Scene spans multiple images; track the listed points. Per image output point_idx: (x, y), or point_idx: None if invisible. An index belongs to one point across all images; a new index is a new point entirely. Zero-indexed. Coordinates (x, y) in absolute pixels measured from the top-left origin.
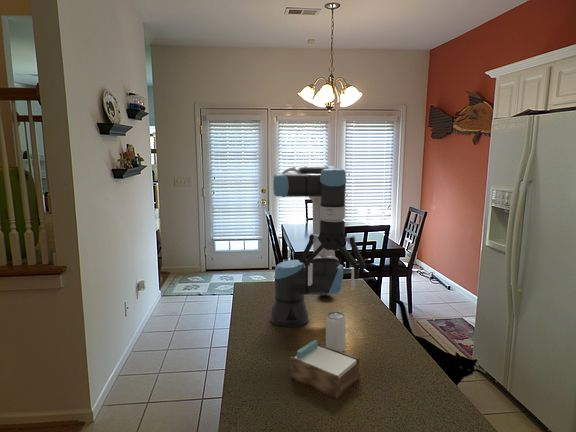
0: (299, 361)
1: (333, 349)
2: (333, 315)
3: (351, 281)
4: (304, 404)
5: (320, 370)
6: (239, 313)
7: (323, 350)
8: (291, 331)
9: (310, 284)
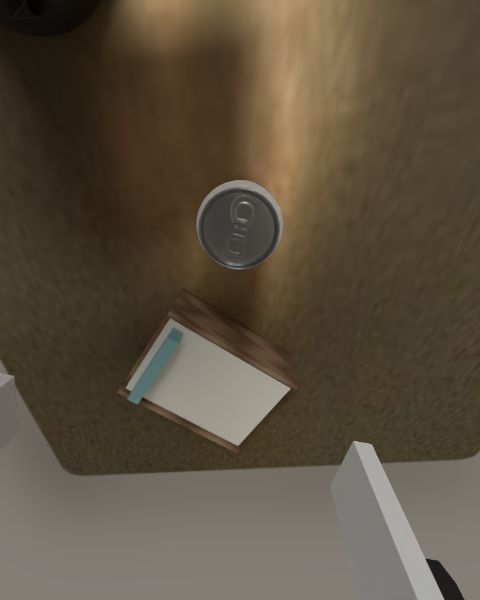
0: (144, 405)
1: (230, 350)
2: (228, 223)
3: (352, 567)
4: (180, 429)
5: (199, 433)
6: None
7: (201, 349)
8: (71, 79)
9: (11, 433)
